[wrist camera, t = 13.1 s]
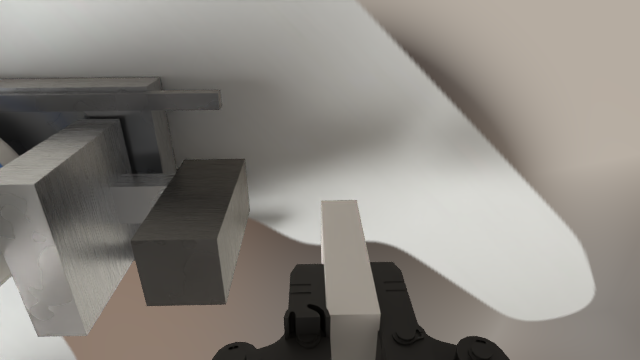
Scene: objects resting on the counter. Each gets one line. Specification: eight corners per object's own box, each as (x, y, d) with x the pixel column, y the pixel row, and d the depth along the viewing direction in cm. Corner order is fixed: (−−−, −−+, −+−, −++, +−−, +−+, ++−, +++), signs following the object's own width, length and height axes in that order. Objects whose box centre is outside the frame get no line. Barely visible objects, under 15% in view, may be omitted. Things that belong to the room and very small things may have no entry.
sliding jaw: (253, 236, 23) (231, 342, 17) (111, 238, 23) (30, 346, 17) (242, 117, 20) (209, 188, 14) (78, 119, 20) (-38, 192, 13)
